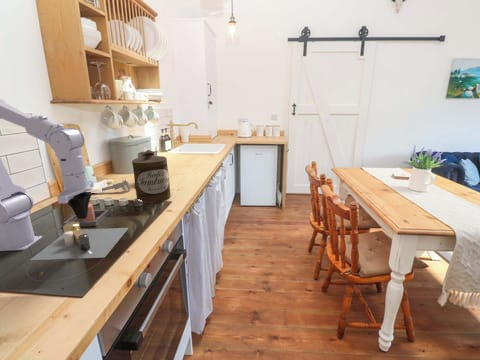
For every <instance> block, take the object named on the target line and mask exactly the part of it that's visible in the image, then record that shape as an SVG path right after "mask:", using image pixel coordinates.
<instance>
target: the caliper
mask: <svg viewBox="0 0 480 360" xmlns="http://www.w3.org/2000/svg"><path fill="white" fill-rule="evenodd" d="M125 186H126V187H125ZM101 188H102V192H104V191H109V190H118V189H120V188H121V189H122V190H123V192H127V190H128V192H130V190H131V189H130V184H129V181H128V180H126V179H122V182H117V183H114V184H112V185H108V186H105V187H101ZM126 188H127V189H126Z"/></svg>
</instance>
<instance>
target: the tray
mask: <svg viewBox="0 0 480 360" xmlns="http://www.w3.org/2000/svg"><path fill="white" fill-rule="evenodd" d="M94 214H95V219H94V221H81V220H79V219H78V218H77V216H76V214H75V213H74V214H73V215H71V216H70V217H69V218H67V220H65V221H63V222H62V224H63V225H62V226H64V225H65V224H68V223H72V222H79V224H80V227H97V226H98V225H99V224H100V223H101V222H102V221H103V220H105V219H106V218H109V217H111V211H110V209H94ZM76 220H77V221H76Z"/></svg>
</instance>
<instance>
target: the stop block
mask: <svg viewBox="0 0 480 360" xmlns="http://www.w3.org/2000/svg"><path fill="white" fill-rule="evenodd" d="M94 210H95V209H94V204H93V203H92V202H89V204H88V214H87V217H86V218H85V219H79V221H94V220H95V219H96V217H95V214H94Z"/></svg>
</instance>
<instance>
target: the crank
mask: <svg viewBox="0 0 480 360" xmlns="http://www.w3.org/2000/svg"><path fill="white" fill-rule="evenodd" d="M62 228H63V234H64V233H65V232H68V231H72V232H73V236H74V240H75V243H76V244H77V245H78V246H79V247H80V248H81V250H82V251H85V250H88V249H90V248H91V247H90V242H89V237H88V234H83V233H82V232H81V229H82V228H81V226H80V224H79V222H72V223H68V224H65V225H62Z"/></svg>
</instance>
